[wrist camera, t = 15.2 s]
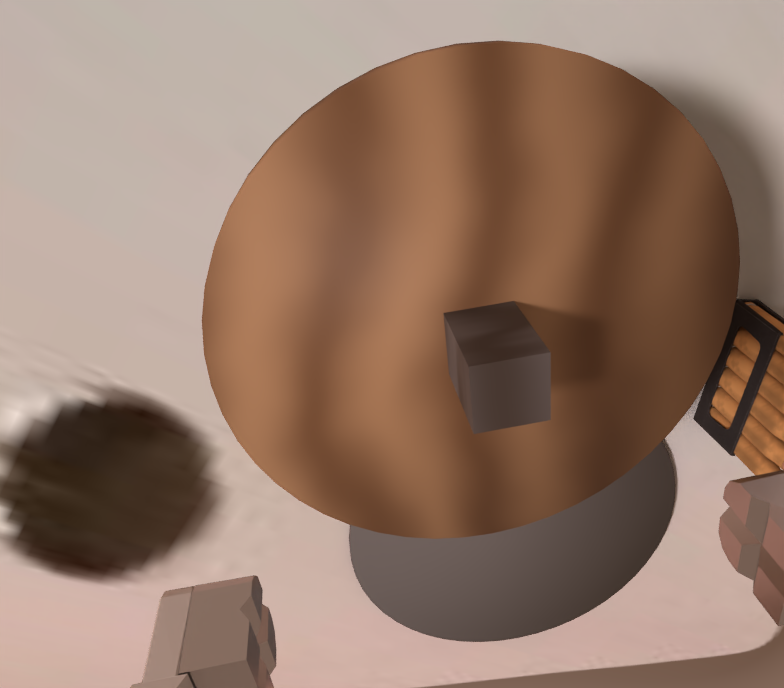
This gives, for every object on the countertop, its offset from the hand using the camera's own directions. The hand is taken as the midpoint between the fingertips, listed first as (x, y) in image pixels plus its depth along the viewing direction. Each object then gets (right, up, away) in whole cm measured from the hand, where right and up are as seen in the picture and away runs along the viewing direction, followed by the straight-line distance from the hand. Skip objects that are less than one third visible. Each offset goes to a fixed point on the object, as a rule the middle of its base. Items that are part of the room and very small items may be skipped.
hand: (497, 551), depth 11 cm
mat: (+9, -12, +45) cm, 47 cm away
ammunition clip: (+24, +2, +40) cm, 46 cm away
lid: (+2, +4, +21) cm, 22 cm away
